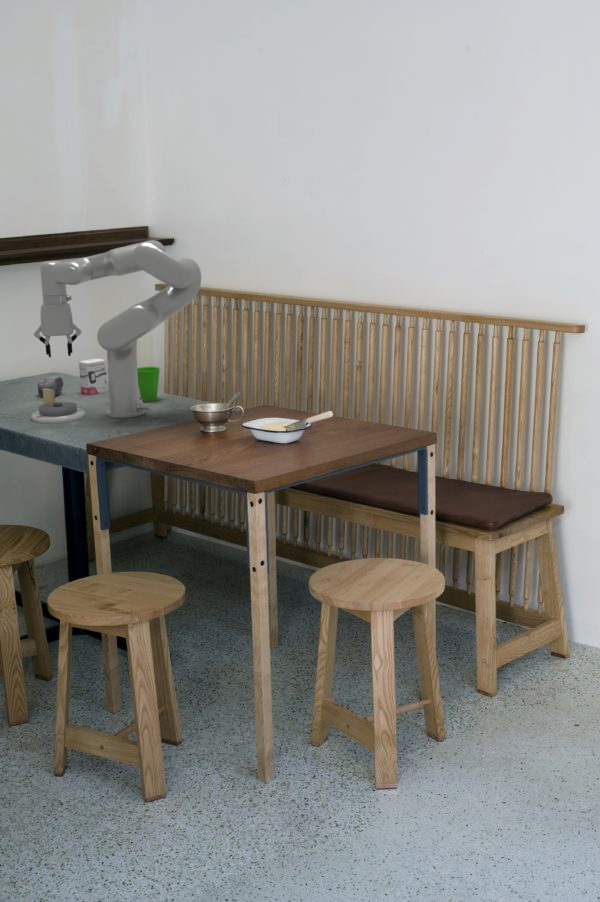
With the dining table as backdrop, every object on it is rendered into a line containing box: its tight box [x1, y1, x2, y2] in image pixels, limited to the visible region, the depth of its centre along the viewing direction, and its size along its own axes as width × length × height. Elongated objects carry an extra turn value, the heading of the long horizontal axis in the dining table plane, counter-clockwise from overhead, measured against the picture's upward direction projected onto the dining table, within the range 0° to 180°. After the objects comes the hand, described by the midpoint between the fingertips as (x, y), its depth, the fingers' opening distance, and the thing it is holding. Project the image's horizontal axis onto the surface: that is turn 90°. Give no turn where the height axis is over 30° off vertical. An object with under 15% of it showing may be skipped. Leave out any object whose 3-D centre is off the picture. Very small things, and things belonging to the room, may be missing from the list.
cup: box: [137, 365, 161, 403], centre depth 379 cm, size 9×9×11 cm
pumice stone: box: [37, 375, 64, 398], centre depth 391 cm, size 10×8×10 cm
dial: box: [38, 388, 78, 416], centre depth 356 cm, size 12×12×7 cm
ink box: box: [78, 357, 109, 396], centre depth 394 cm, size 8×5×12 cm, turn 134°
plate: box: [30, 407, 86, 424], centre depth 357 cm, size 17×17×2 cm
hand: (59, 355), depth 357 cm, fingers open, 5 cm apart
